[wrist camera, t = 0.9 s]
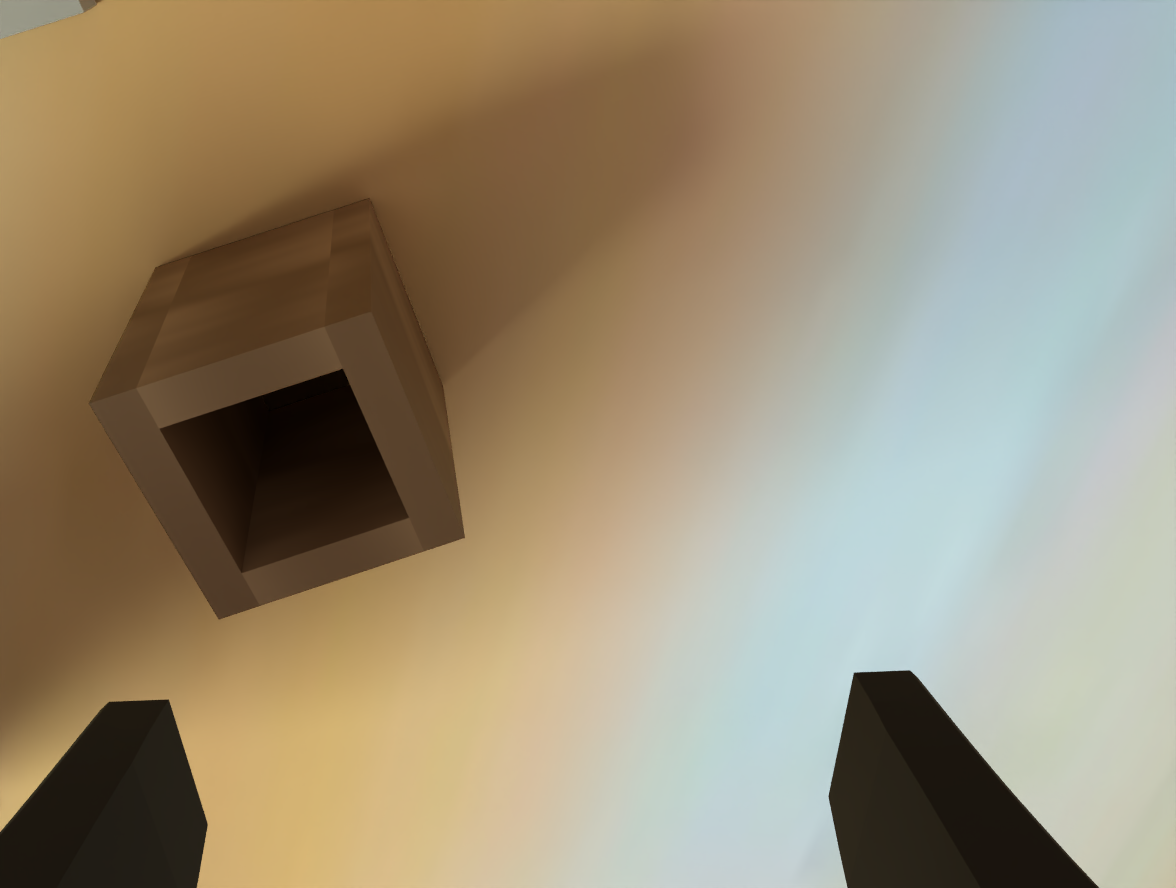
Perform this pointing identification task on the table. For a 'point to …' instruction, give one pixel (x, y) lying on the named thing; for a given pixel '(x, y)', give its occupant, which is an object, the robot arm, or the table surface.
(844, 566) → the table surface
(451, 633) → the table surface
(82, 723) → the table surface
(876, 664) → the table surface
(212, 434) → the hollow wooden block
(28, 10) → the pin base
